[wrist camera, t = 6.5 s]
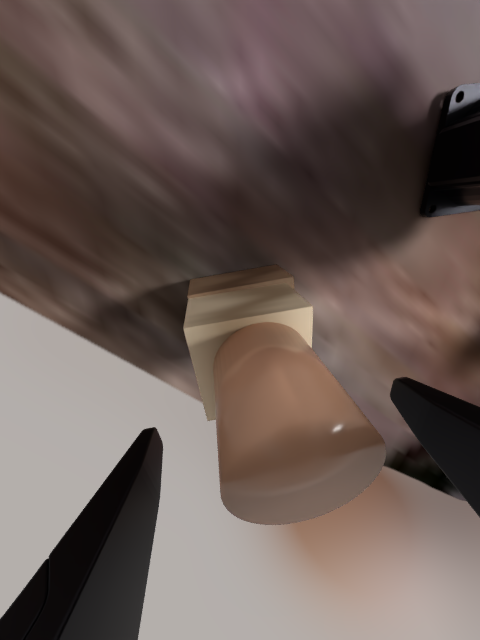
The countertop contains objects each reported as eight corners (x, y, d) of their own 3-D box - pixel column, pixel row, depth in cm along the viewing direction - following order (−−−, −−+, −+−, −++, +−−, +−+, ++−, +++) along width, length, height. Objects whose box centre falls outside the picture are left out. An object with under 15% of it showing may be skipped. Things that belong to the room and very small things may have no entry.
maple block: (285, 282, 13) (312, 306, 9) (287, 361, 15) (309, 400, 12) (188, 298, 12) (183, 328, 9) (206, 376, 15) (207, 421, 12)
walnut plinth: (275, 263, 16) (293, 276, 13) (280, 336, 18) (296, 362, 15) (190, 278, 15) (187, 295, 12) (208, 350, 18) (209, 380, 15)
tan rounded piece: (310, 313, 10) (402, 401, 5) (307, 393, 12) (371, 503, 7) (204, 331, 9) (206, 442, 5) (220, 410, 11) (232, 538, 7)
